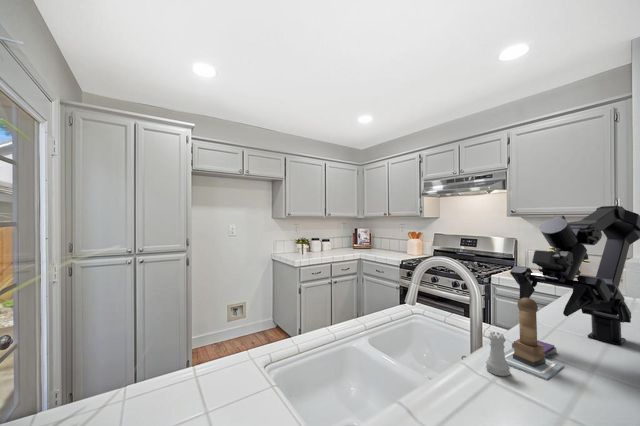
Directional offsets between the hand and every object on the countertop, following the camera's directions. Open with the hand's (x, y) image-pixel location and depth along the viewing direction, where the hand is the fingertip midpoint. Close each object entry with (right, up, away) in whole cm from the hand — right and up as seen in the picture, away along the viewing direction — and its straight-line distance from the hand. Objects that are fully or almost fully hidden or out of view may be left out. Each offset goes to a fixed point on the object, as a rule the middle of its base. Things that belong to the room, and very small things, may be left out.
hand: (541, 309), depth 65 cm
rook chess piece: (-15, -12, -6) cm, 20 cm away
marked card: (-5, -12, -3) cm, 13 cm away
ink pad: (+1, -12, +4) cm, 13 cm away
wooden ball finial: (-5, -11, -3) cm, 12 cm away
